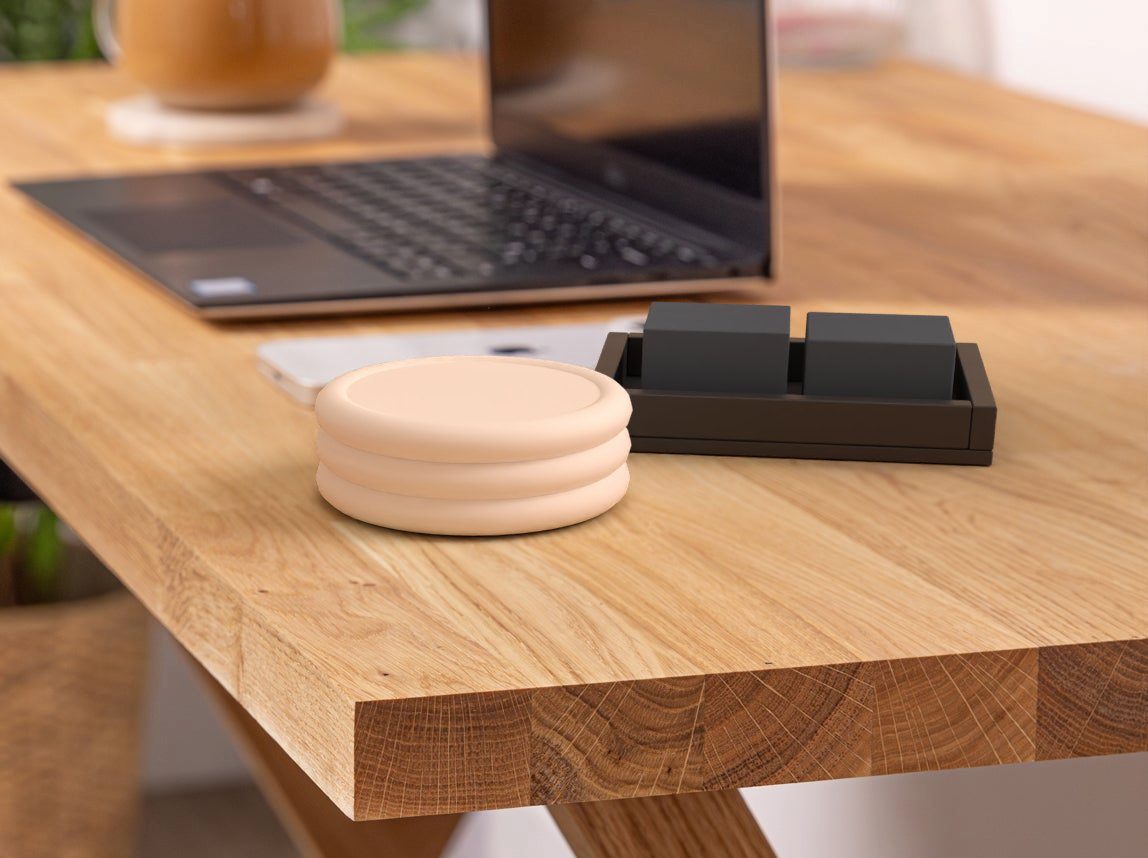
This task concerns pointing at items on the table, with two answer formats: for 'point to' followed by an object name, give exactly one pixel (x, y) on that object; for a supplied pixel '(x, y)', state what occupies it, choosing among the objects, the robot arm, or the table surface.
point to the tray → (808, 416)
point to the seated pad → (878, 356)
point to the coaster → (473, 444)
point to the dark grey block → (716, 348)
